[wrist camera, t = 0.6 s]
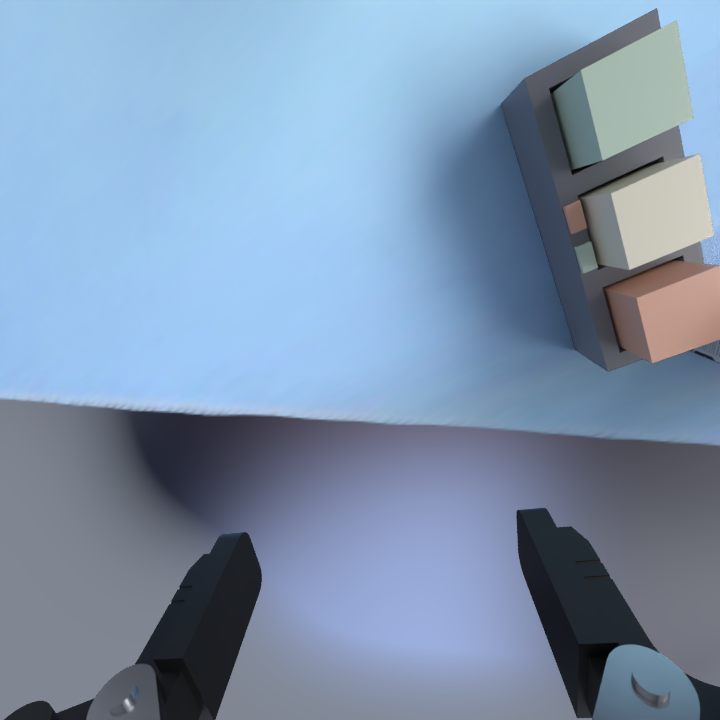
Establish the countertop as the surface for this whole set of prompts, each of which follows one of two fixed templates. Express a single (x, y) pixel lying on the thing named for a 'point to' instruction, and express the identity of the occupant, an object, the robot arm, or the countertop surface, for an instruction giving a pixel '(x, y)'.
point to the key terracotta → (666, 309)
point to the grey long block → (581, 193)
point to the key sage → (624, 98)
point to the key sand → (648, 213)
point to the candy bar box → (709, 351)
